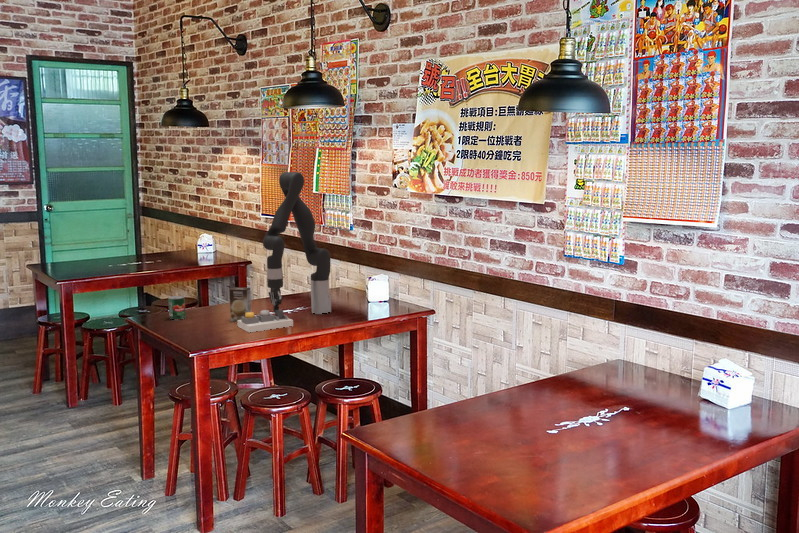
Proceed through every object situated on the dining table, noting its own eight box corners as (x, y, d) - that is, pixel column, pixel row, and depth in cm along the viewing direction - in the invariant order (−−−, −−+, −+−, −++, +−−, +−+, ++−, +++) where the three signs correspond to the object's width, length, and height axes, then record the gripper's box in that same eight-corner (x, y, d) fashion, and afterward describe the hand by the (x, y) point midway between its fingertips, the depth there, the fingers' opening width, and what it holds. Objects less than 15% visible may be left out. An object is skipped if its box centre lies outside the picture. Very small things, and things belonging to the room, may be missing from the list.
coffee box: (230, 321, 363) (228, 289, 361) (234, 318, 370) (232, 287, 367) (248, 321, 363) (246, 289, 360) (252, 319, 369) (250, 287, 366)
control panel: (280, 320, 365) (280, 309, 364) (293, 326, 352) (292, 314, 351) (237, 326, 353) (237, 315, 353) (249, 332, 341) (248, 321, 340)
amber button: (252, 317, 351) (252, 311, 350) (255, 319, 348) (255, 313, 347) (244, 318, 349) (244, 312, 348) (247, 320, 346) (247, 314, 345)
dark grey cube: (281, 317, 358) (280, 309, 357) (283, 318, 355) (283, 310, 354) (275, 317, 356) (274, 309, 355) (277, 319, 353) (277, 310, 353)
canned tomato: (175, 316, 376) (174, 295, 375) (189, 317, 374) (187, 296, 372) (166, 319, 369) (164, 298, 367) (179, 320, 366) (178, 299, 365)
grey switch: (267, 315, 355) (267, 309, 354) (270, 317, 352) (270, 311, 351) (259, 316, 353) (259, 310, 352) (262, 318, 349) (262, 312, 349)
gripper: (287, 278, 352) (289, 314, 354) (277, 274, 363) (278, 309, 366) (272, 280, 348) (274, 316, 350) (262, 276, 359) (263, 311, 362)
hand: (276, 312), depth 358 cm, fingers closed
